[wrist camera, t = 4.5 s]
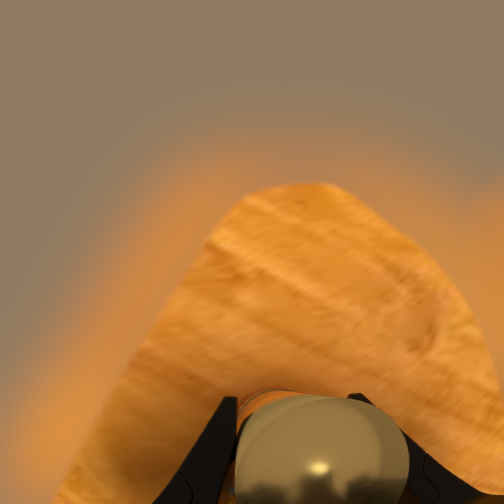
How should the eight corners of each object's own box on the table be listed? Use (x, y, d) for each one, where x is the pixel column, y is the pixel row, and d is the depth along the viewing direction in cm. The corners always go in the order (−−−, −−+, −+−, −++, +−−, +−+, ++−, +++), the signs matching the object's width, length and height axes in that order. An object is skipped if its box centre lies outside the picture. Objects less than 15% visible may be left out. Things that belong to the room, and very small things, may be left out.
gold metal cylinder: (301, 455, 14) (394, 541, 4) (231, 450, 14) (223, 551, 4) (309, 390, 16) (419, 393, 6) (239, 384, 16) (242, 389, 6)
